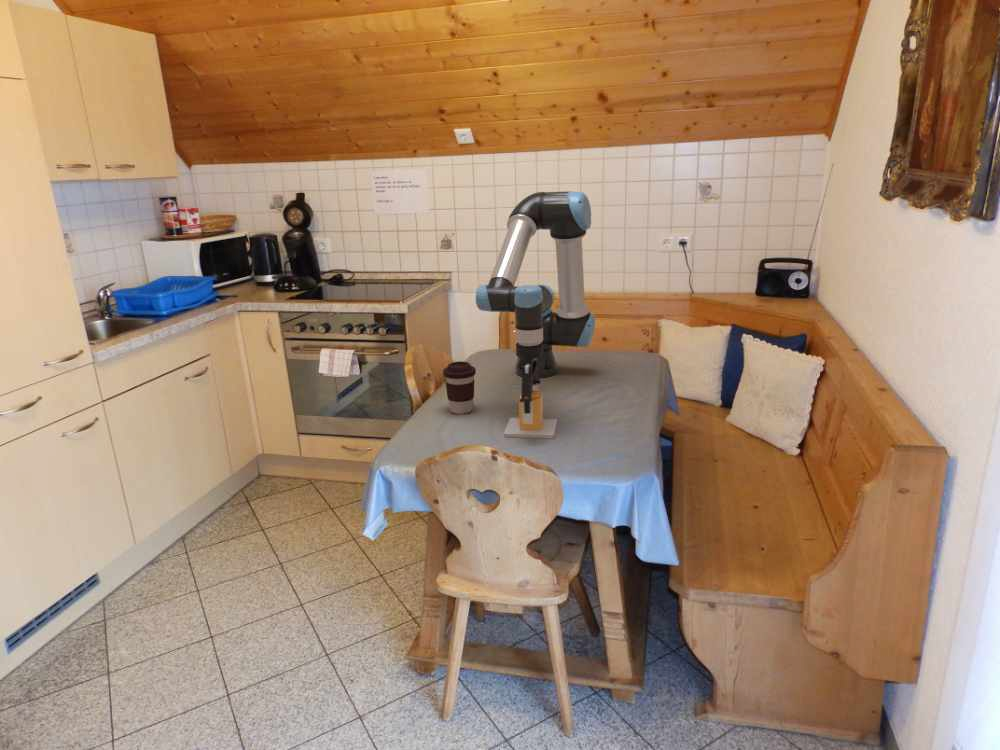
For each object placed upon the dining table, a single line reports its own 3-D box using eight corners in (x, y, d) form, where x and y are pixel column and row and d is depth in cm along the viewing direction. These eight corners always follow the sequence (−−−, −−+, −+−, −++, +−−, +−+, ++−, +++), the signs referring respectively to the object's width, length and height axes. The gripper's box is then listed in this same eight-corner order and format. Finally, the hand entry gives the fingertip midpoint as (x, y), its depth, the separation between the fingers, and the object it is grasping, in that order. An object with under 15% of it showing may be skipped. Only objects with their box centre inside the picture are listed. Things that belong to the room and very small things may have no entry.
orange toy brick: (522, 421, 197) (521, 389, 194) (542, 422, 196) (542, 389, 193) (519, 429, 191) (518, 396, 188) (540, 430, 190) (540, 396, 187)
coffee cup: (453, 418, 204) (450, 371, 200) (440, 408, 213) (437, 363, 208) (482, 412, 208) (480, 365, 204) (469, 402, 217) (466, 357, 212)
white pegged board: (510, 420, 201) (509, 398, 199) (557, 422, 198) (557, 400, 196) (503, 436, 190) (503, 413, 187) (553, 438, 187) (553, 415, 185)
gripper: (521, 330, 198) (523, 398, 205) (509, 354, 175) (511, 430, 181) (547, 331, 197) (548, 399, 204) (537, 355, 174) (539, 431, 180)
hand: (530, 414), depth 193 cm, fingers open, 13 cm apart
